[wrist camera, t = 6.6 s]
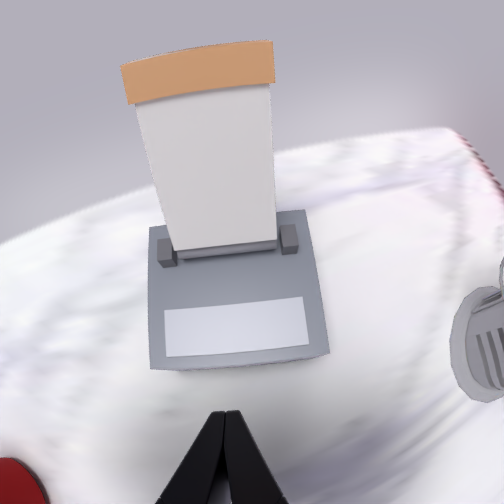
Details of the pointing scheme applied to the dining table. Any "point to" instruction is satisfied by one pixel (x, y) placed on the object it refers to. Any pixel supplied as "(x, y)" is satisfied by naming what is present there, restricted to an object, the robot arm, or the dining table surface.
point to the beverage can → (18, 484)
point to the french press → (480, 343)
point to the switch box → (235, 303)
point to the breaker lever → (210, 144)
